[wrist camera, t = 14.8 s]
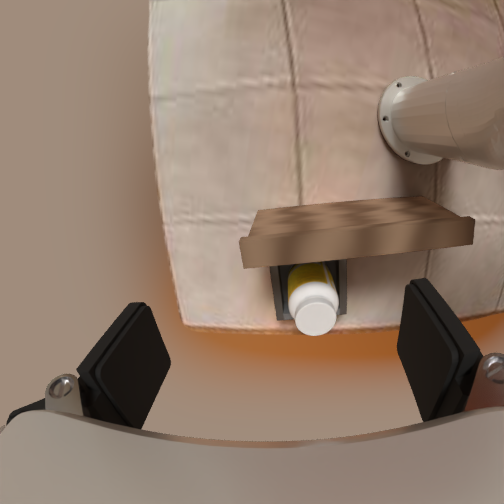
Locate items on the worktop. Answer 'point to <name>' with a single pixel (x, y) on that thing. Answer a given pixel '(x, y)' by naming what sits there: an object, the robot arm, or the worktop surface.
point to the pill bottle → (312, 297)
